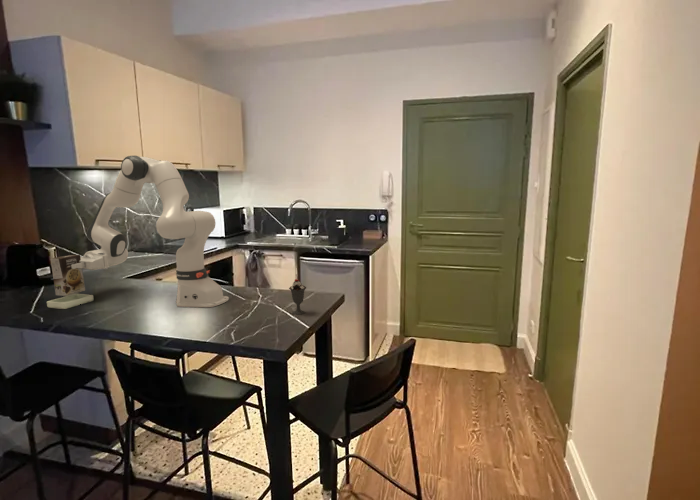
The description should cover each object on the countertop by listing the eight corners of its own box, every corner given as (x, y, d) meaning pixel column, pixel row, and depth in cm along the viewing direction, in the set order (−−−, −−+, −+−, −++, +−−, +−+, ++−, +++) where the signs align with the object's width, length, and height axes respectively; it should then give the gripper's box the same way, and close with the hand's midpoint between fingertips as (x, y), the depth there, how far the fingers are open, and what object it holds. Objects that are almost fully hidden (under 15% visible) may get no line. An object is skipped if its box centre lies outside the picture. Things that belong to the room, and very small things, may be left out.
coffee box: (66, 296, 173) (60, 258, 170) (55, 295, 175) (49, 258, 172) (86, 290, 182) (80, 254, 179) (75, 289, 184) (69, 254, 181)
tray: (93, 300, 183) (92, 295, 183) (64, 309, 171) (63, 303, 171) (76, 298, 187) (76, 293, 186) (47, 307, 174) (46, 301, 174)
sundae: (298, 308, 166) (297, 272, 164) (310, 312, 162) (309, 274, 160) (286, 313, 161) (284, 275, 159) (298, 316, 157) (296, 278, 155)
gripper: (76, 252, 191) (46, 257, 178) (109, 254, 184) (80, 260, 172) (78, 265, 192) (48, 272, 179) (111, 268, 186) (82, 274, 173)
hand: (64, 266), depth 175 cm, fingers closed on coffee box, 6 cm apart
